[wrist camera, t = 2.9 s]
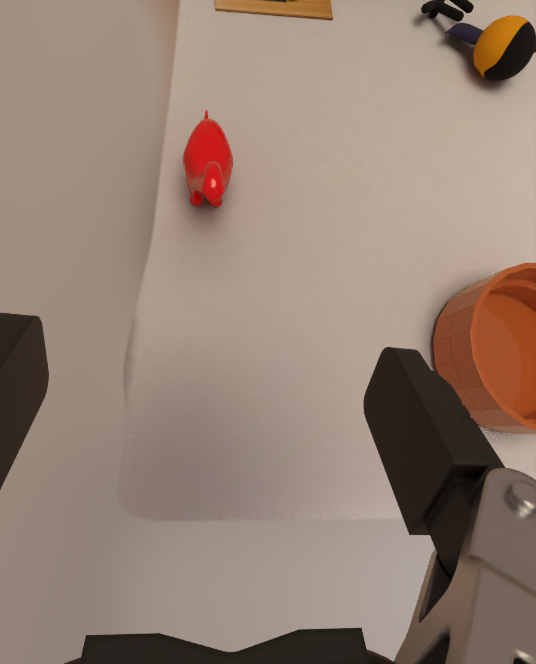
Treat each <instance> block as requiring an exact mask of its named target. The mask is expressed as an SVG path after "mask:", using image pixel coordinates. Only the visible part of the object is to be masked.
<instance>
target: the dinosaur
mask: <svg viewBox="0 0 536 664" xmlns="http://www.w3.org/2000/svg"><path fill="white" fill-rule="evenodd" d="M183 164H184V169H185V174H186V178H187V182H188V187H189V190H190V192H191V194H192V195H191V197H190V202H191V203H192V204H193V205H196V206H198V205H201V204H202V203H203V201H204V200H203V197H202V195H203V194H204V195H205V197H206V198H207V199H208V200H209V203H210V205H212V206H214V207H218V206H220V205H221V204H222V198H221V196H222V195H223V194H224V192H225V191H226V189H227V186H228V184H229V181H230V177H231V172H232V167H233V157H232V153H231V150H230V147H229V144H228V141H227V138H226V136H225V134H224V132H223V130H222V128H221V127H220V126H219V124H218V123H217V122H215V121H214V120H212V119H208V113H207V110H206V113H205V119H204V120H202V121H201V122H199V124H198V125H197V126H196V127H195V129H194V130H193V132H192V134H191V136H190V138H189V140H188V143H187V145H186V148H185V151H184V155H183Z"/></svg>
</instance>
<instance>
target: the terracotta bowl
mask: <svg viewBox="0 0 536 664" xmlns="http://www.w3.org/2000/svg"><path fill="white" fill-rule="evenodd" d="M433 347H434V358H435V366H436V370H437V372H438V374H439V375H440V376H441V377H442V378H443V379H445V380H446V381H447V382H448V383H449V384H450V385H452V387H453V388H454V390H455V392H456V393H457V395H458V396H459V398H460V399H461V401H462V405H465V407H466V408H467V410H468V411H469V413H470V414H471V415H470V417H471V418H473V419H474V421H475V422H476V423H477V424H479V425H481V426H484V427H487V428H490V429H493V430H496V431H499V432H503V433H523V434H536V263H523V264H520V265H517V266H514V267H511V268H508V269H505V270H502V271H500V272H498V273H496V274H494V275H492V276H490V277H487V278H485V279H483V280H481V281H479V282H477V283H474V284H472V285H470V286H468V287H466V288H464V289H463V290H462V291H460V292H459V293H458V294H457V295H455V296H454V297H453V298H452V299H450V300H449V301H448V303H447V305H446V306H445V308H444V310H443V311H442V313H441V315H440V316H439V318H438V321H437V325H436V330H435V335H434V339H433Z"/></svg>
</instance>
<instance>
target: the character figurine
mask: <svg viewBox="0 0 536 664" xmlns="http://www.w3.org/2000/svg"><path fill="white" fill-rule="evenodd" d="M444 1H445V0H433V1H429V2H427V3H425V4H424V5H423V6H422V8H421V11H422V13H424V14H426V13H428V12H429V17H430V18H435V17H436V16H437V14H438V12H439V13H441V14H443V15H445V16H447V17H449V18H451V19H453V20H455V21H461V20H462V19H463V17H464V14H463V12H462V11H460V10H458V9H456V8H453V7H451V6H449V5H447V4H445V3H444ZM450 1H451V2H453V3H454V4H455V5H457V6H458V7H459V8H461V9H462V10H463V11H465V12H466V13H470V12H472V10H473V7H474V6H473V4H472V3H471V2H469V1H468V0H450ZM445 33H448V34H451V35H453V36H454V37H456V38H457V39H459V40H462V41H464V42H467V43H469V44H472V45H476V46H475V49H474V64H475V67H476V69H477V71H478V72H479V74H480V75H481V76H483V77H484V78H486V79H488V80H492V81H501V80H506V79H509V78H511V77H513V76H515V75H516V74H518V73H519V72H520V71H521V70H522V69H523V68H524V67H525V66H526V65H527V64H528V62H529V61H530V59H531V57H532V55H533V54H534V53H535V52H536V34H535V30H534V28H533V26H532V25H531V23H530V22H529V21H528V20H526V19H525V18H523V17H520V16H506V17H503V18H500V19H498V20H496V21H494V22H493V23H491V24H490V25H489V26H488V27H487V28H486V29H485V30H484V31H483V30H481V29H479V28H477V27H475V26H472V25H470V24H466V23H459V24H457V25H455V26H453V27H452V28H451V29H449V30H448V31H447V32H445Z"/></svg>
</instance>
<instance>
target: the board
mask: <svg viewBox="0 0 536 664" xmlns="http://www.w3.org/2000/svg"><path fill="white" fill-rule="evenodd" d="M215 8H216V10H220V11H232V12H243V13H255V14H267V15H279V16H291V17H303V18H314V19H326V20H332V19H333V16H332V9H331V2H330V0H215Z"/></svg>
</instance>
